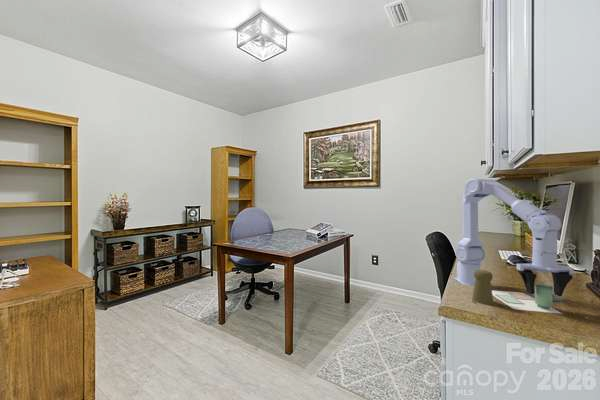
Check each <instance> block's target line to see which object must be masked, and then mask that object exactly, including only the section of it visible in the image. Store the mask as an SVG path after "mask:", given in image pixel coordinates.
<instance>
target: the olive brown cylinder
mask: <svg viewBox="0 0 600 400" xmlns="http://www.w3.org/2000/svg"><path fill="white" fill-rule="evenodd" d="M474 277H475V279H476V280H475V285H473V286H474V287H473V292H472V298H471V299H472V300H471V302H472V303H473V304H475V305H478V304H482V305H491V306H492V305H494V296H493V295H492V283H491V282H492V280H493V274H492V272H491V271H489V270H485V269H480V270H476V271H475V272H474Z"/></svg>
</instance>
